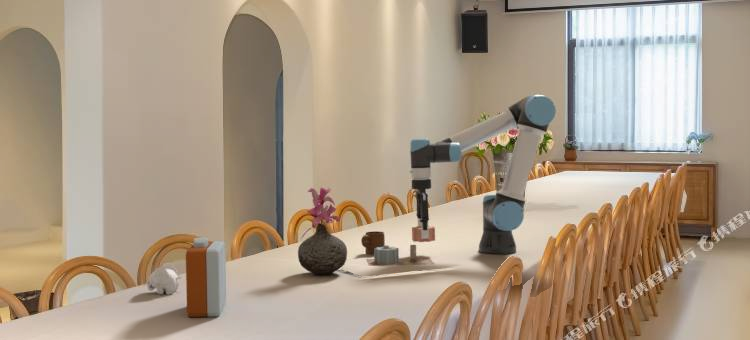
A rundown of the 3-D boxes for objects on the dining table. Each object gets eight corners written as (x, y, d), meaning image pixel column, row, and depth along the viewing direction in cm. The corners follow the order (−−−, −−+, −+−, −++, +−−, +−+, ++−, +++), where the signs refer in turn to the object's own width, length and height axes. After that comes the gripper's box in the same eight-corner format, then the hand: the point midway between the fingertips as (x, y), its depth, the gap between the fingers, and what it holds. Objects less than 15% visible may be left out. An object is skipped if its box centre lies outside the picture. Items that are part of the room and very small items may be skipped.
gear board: (429, 260, 302) (429, 242, 301) (434, 267, 288) (434, 247, 287) (366, 262, 300) (366, 243, 299) (369, 268, 286) (368, 248, 285)
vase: (353, 271, 281) (352, 187, 279) (335, 280, 264) (334, 191, 263) (310, 268, 286) (309, 186, 285) (289, 277, 270) (288, 190, 268)
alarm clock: (196, 303, 232) (194, 233, 231) (226, 302, 233) (225, 233, 231) (186, 318, 213) (185, 243, 212) (219, 317, 214) (218, 242, 213)
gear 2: (433, 238, 312) (432, 225, 311) (436, 241, 303) (436, 228, 303) (411, 239, 311) (410, 226, 311) (414, 242, 303) (413, 229, 302)
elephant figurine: (148, 289, 252) (148, 261, 252) (186, 289, 252) (185, 261, 252) (139, 296, 243) (138, 267, 242) (177, 295, 243) (177, 267, 242)
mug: (370, 260, 305) (370, 235, 304) (354, 258, 309) (354, 234, 309) (388, 255, 314) (388, 232, 314) (373, 254, 319) (373, 230, 318)
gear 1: (391, 259, 299) (391, 245, 299) (402, 262, 291) (402, 249, 291) (370, 261, 295) (370, 247, 295) (381, 264, 287) (381, 250, 287)
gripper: (408, 177, 316) (410, 233, 317) (415, 181, 295) (417, 241, 296) (426, 176, 317) (428, 232, 318) (435, 180, 295) (437, 240, 297)
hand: (423, 236), depth 307 cm, fingers closed on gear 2, 9 cm apart
